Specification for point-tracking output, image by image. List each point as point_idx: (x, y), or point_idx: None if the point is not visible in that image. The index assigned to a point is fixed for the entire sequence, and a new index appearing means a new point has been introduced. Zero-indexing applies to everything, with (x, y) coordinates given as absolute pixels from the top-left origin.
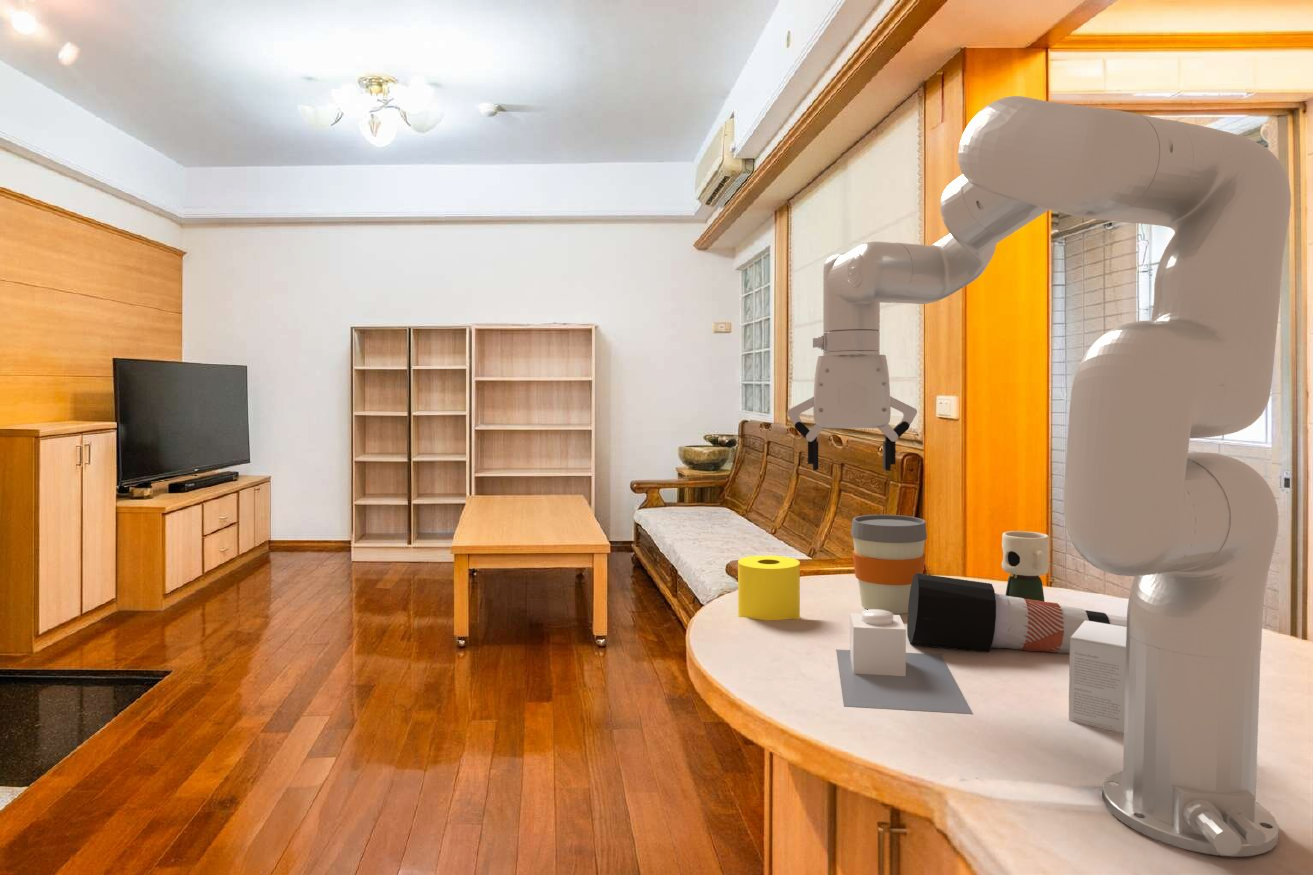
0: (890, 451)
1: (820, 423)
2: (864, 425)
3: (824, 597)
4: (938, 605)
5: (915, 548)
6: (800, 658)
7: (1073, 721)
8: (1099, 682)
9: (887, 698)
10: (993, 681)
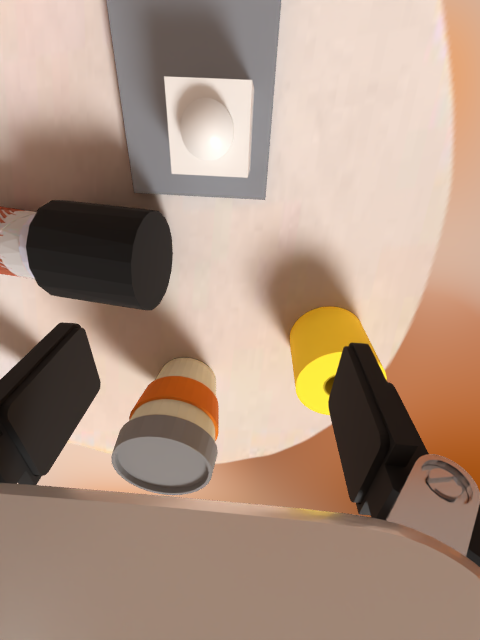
0: (10, 370)
1: (461, 563)
2: (40, 498)
3: (252, 403)
4: (113, 219)
5: (136, 414)
6: (311, 191)
7: None
8: None
9: None
10: (76, 123)
